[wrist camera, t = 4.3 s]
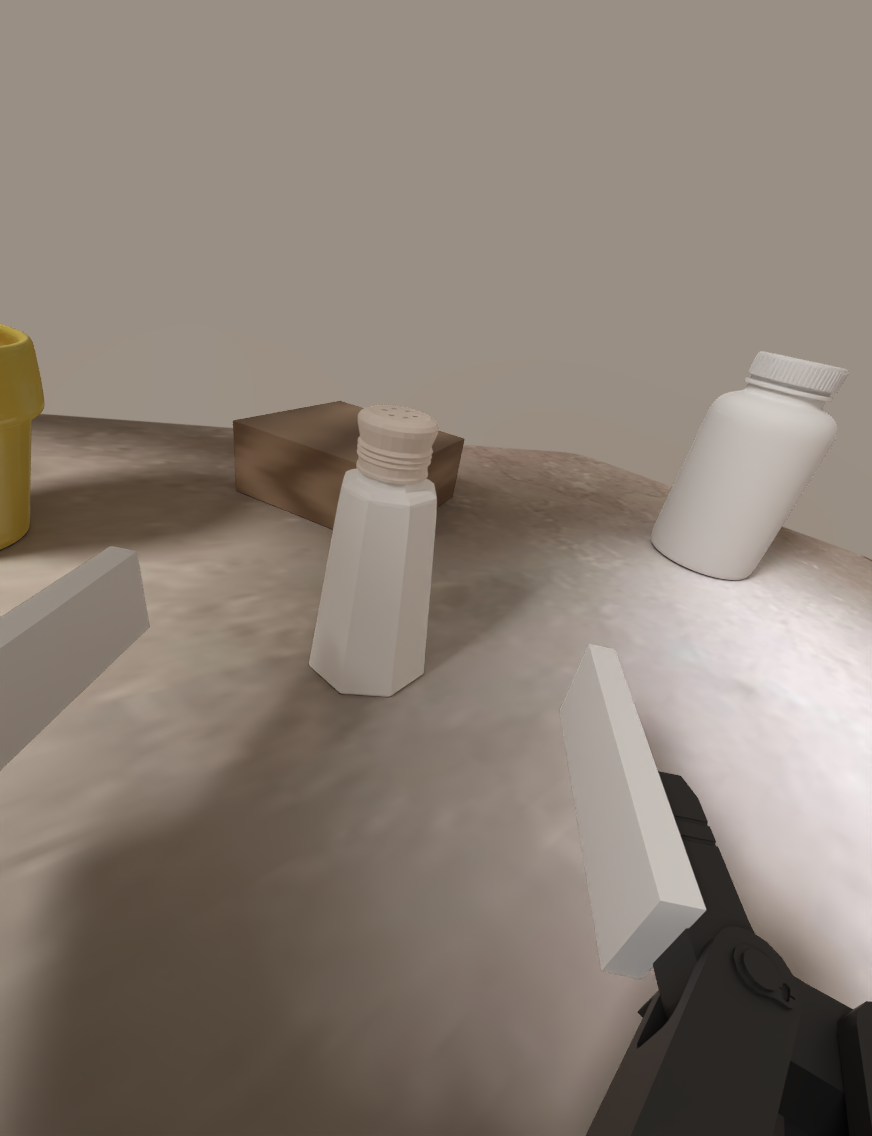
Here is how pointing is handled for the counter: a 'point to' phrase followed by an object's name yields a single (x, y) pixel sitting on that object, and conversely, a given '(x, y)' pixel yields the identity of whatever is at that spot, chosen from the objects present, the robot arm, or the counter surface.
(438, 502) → the walnut base
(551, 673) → the counter surface
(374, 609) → the pepper shaker
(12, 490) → the plant pot
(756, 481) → the pill bottle
